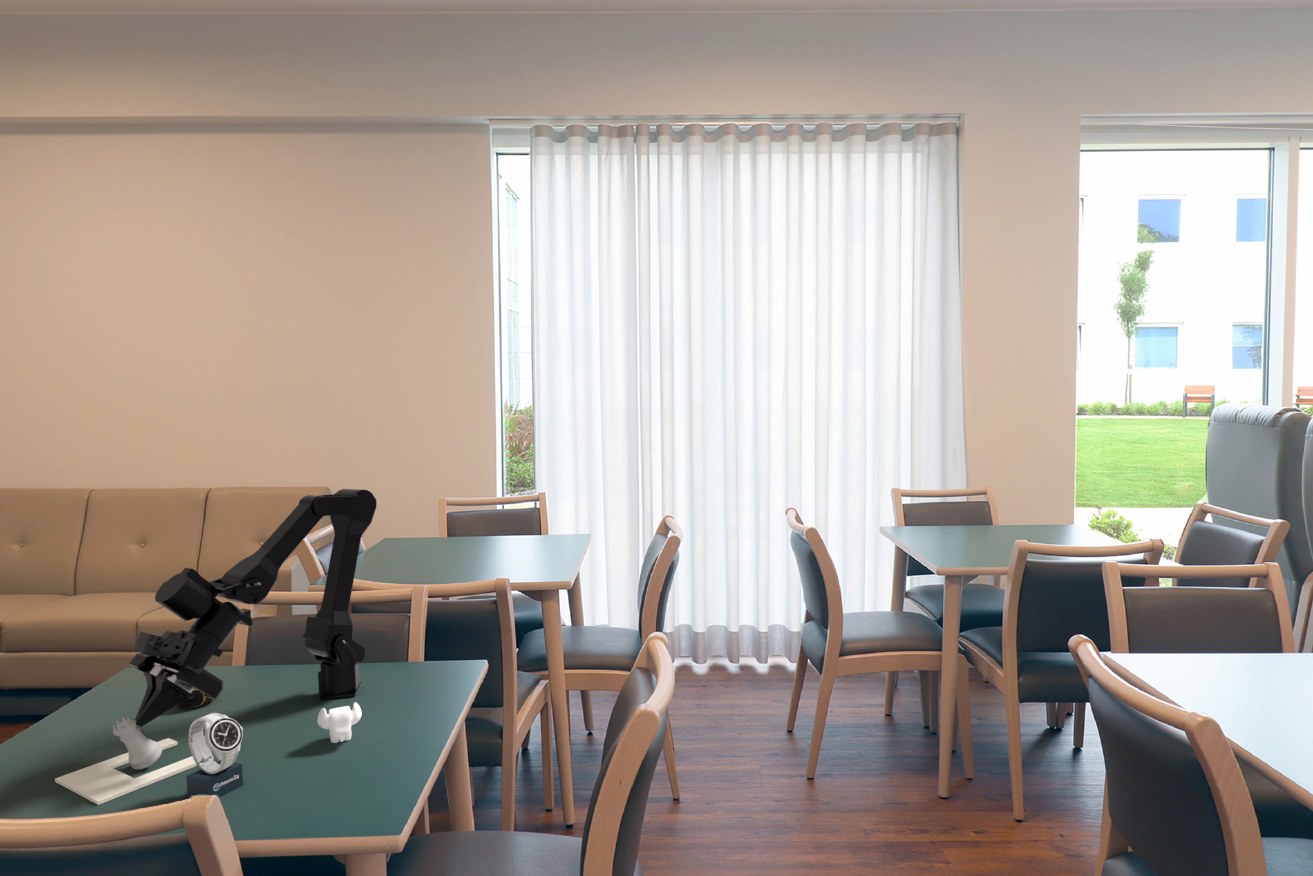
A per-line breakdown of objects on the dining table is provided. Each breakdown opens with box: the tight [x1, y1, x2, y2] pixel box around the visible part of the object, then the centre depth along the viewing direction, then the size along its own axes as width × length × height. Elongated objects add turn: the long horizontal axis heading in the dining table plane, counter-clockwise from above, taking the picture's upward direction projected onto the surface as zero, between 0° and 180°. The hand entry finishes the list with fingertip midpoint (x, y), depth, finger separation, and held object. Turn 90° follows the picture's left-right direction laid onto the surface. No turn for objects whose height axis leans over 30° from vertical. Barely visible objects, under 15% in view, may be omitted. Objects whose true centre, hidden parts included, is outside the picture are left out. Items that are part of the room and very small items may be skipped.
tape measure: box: [176, 688, 214, 708], centre depth 147 cm, size 7×7×4 cm
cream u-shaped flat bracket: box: [54, 737, 215, 806], centre depth 120 cm, size 16×14×1 cm
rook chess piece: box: [112, 715, 163, 770], centre depth 120 cm, size 4×4×8 cm
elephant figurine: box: [317, 701, 363, 744], centre depth 128 cm, size 7×8×6 cm
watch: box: [185, 712, 244, 798], centre depth 112 cm, size 6×8×11 cm
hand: (137, 725), depth 120 cm, fingers closed
